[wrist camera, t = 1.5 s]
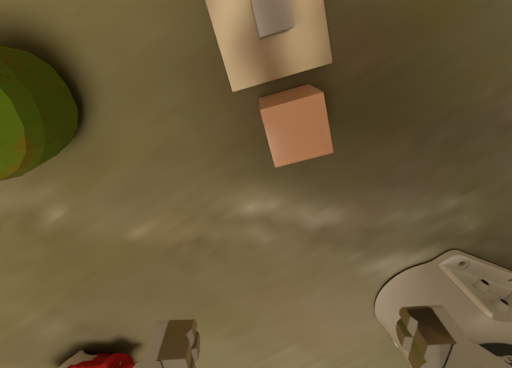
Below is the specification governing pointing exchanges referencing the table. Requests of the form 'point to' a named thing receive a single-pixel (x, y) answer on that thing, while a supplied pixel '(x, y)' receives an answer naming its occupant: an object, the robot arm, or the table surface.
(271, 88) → the table surface
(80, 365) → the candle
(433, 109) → the table surface
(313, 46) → the post stand
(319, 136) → the salmon orange block
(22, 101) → the apple
